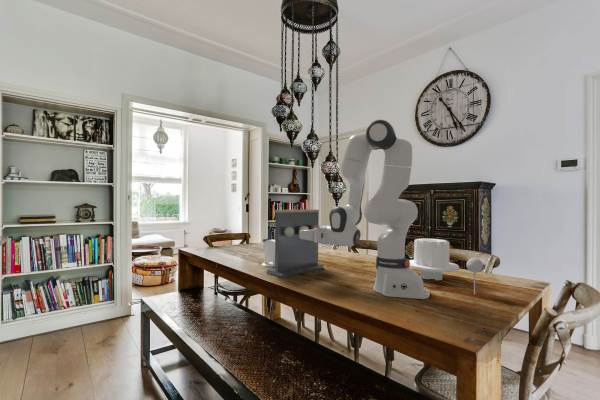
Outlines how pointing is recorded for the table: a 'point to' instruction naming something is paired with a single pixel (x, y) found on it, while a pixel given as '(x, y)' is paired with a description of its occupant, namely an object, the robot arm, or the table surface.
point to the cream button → (303, 228)
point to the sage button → (288, 231)
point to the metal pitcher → (269, 252)
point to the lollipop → (474, 267)
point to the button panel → (294, 244)
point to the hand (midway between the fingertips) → (302, 233)
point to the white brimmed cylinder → (432, 258)
